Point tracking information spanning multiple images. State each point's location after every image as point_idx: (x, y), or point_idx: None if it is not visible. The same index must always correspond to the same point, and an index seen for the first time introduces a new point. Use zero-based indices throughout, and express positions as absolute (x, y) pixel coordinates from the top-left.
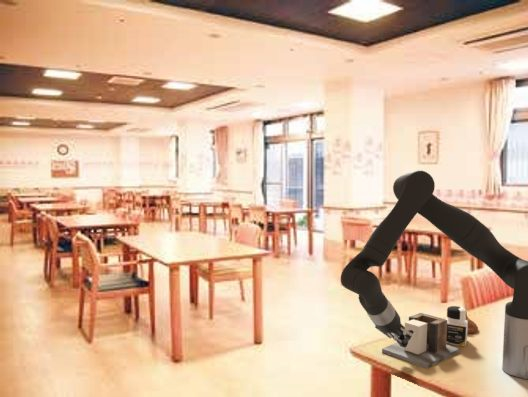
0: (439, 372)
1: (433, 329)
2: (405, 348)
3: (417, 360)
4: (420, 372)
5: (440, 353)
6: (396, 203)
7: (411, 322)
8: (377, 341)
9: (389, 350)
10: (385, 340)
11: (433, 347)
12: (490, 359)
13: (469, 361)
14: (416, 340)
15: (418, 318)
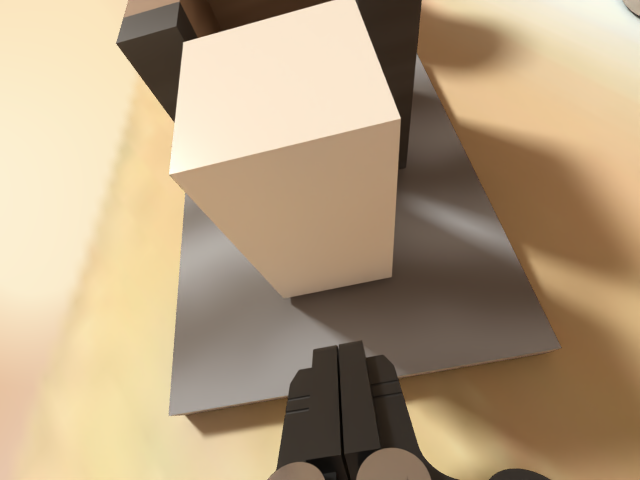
0: (636, 324)
1: (400, 26)
2: (292, 292)
3: (464, 351)
4: (606, 466)
5: (424, 145)
6: None
7: (229, 107)
8: (83, 299)
9: (223, 392)
10: (111, 249)
11: (400, 147)
12: (530, 12)
13: (522, 84)
14: (374, 234)
15: (190, 1)
